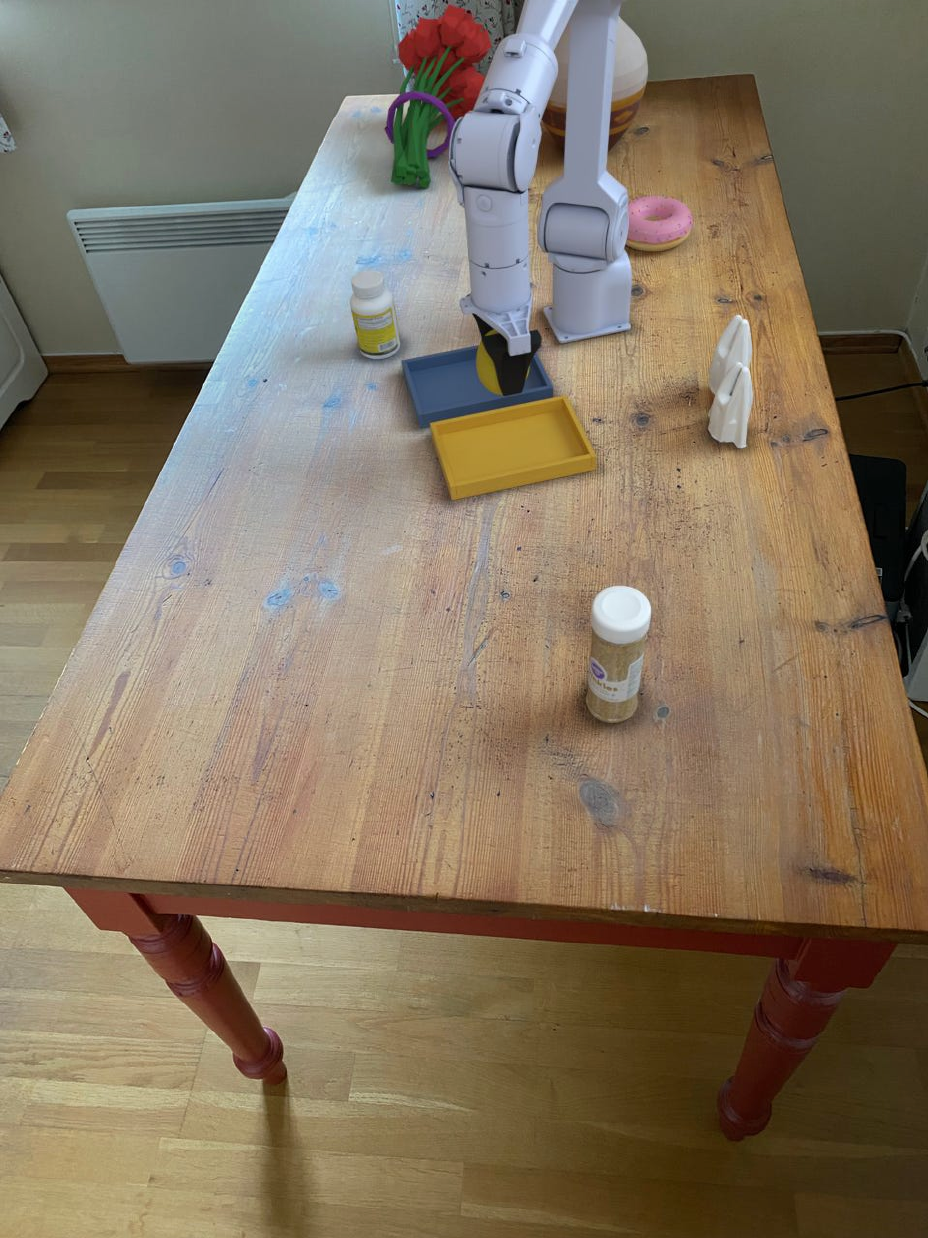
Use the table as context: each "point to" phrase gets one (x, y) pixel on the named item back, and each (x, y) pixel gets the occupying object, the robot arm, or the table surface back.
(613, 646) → the sprinkles bottle
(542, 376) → the blue tray
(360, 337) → the supplement bottle
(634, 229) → the doughnut
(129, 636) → the table surface
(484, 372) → the lemon
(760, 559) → the table surface
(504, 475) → the yellow tray
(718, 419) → the shaker set
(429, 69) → the bouquet
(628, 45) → the jug
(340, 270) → the table surface
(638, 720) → the table surface
